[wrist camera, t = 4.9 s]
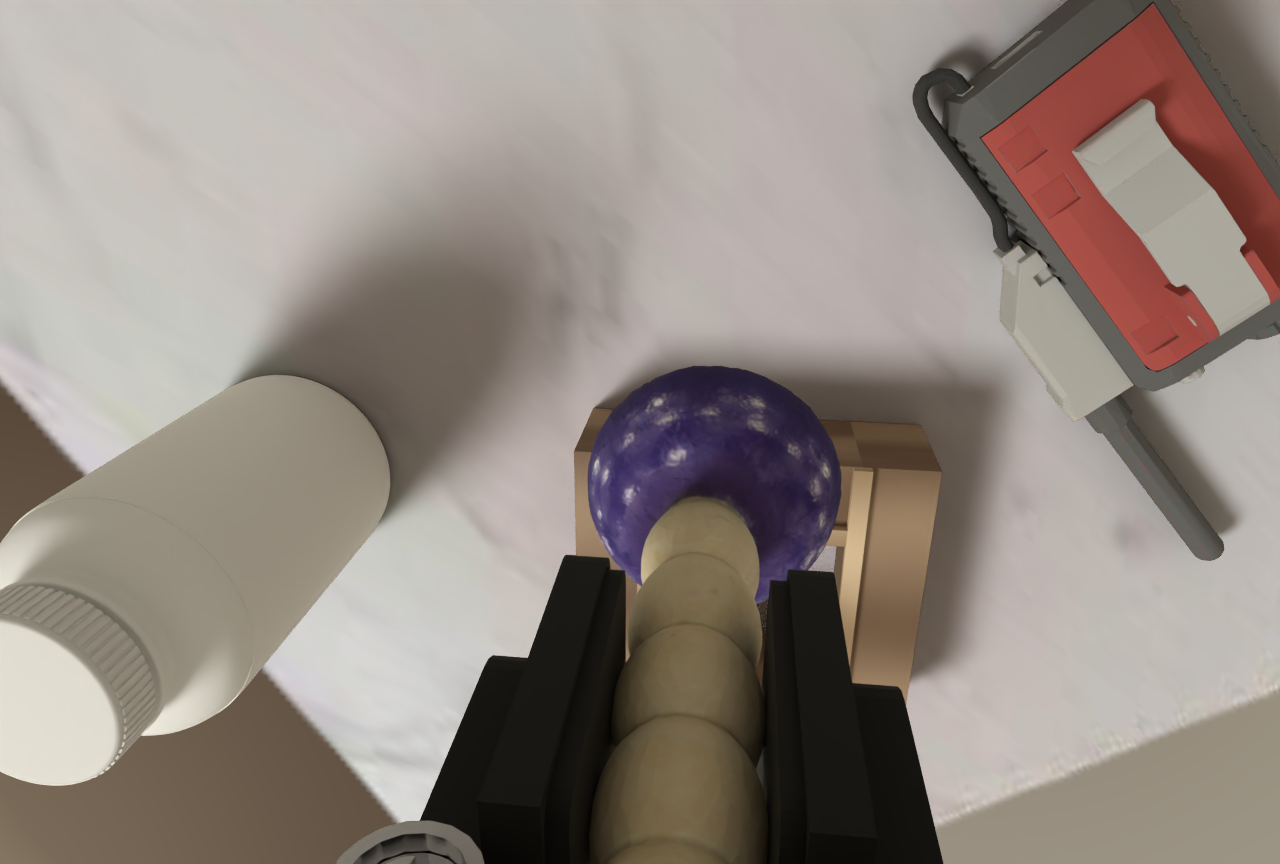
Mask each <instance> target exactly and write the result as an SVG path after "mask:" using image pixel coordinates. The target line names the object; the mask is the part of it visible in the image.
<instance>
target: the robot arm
mask: <svg viewBox="0 0 1280 864" xmlns="http://www.w3.org/2000/svg"><path fill="white" fill-rule="evenodd" d="M625 663H626V573H625V570H612V569H611V568H610V560H609V558H606V557H591V556H576V555H565V556H564V558H563V560H562V563H561V566H560V569H559V572H558V574H557V577H556V580H555V583H554V586H553V589H552V591H551V594H550V597H549V600H548V603H547V605H546V608H545V611H544V614H543V617H542V620H541V622H540V625H539V628H538V631H537V634H536V637H535V639H534V642H533V645H532V648H531V651H530V653H529V656H528V658H520V657H507V656H494V655H493V656H492V657H490V658H489V659H488V661H487V663H486V665H485V666H484V669H483V671H482V673H481V676H480V678H479V681H478V683H477V685H476V688H475V690H474V693H473V695H472V697H471V700H470V702H469V704H468V707H467V709H466V712H465V714H464V716H463V719H462V721H461V724H460V726H459V728H458V731H457V733H456V736H455V738H454V740H453V743H452V745H451V747H450V750H449V752H448V755H447V757H446V759H445V762H444V764H443V767H442V769H441V771H440V774H439V776H438V779H437V781H436V783H435V786H434V788H433V790H432V793H431V795H430V798H429V800H428V802H427V805H426V807H425V810H424V812H423V814H422V817H421V819H420V821H406V822H402V823H399V824H395V825H391V826H387V827H383V828H381V829H380V830H378V831H376V832H374V833H372V834H370V835H368V836H366V837H364V838H362V839H360V840H359V841H358V842H357V843H356V844H354V845H353V846H352V847H351V848H350V849H348V850H347V851H346V852H345V853H344V854H343V855H341V857H340V858H339V859H338V861H337V862H336V863H335V864H591V861H590V848H589V830H590V821H591V812H592V804H593V799H594V795H595V791H596V788H597V784H598V781H599V779H600V776H601V774H602V771H603V769H604V767H605V765H606V763H607V762H608V760H609V758H610V757H611V755H612V753H613V752H614V748H613V742H612V736H611V716H612V708H613V700H614V693H615V688H616V684H617V681H618V678H619V675H620V673H621V671H622V669H623V667H624V665H625ZM761 689H762V694H763V698H764V704H765V741H764V746H763V751H762V754H761V757H760V760H759V762H758V765H757V768H756V771H757V774H758V777H759V779H760V782H761V785H762V787H763V791H764V795H765V800H766V806H767V812H768V855H767V863H766V864H943V860H942V856H941V852H940V847H939V844H938V839H937V835H936V831H935V826H934V822H933V818H932V814H931V809H930V805H929V801H928V797H927V793H926V788H925V784H924V780H923V776H922V772H921V767H920V763H919V759H918V755H917V750H916V746H915V742H914V738H913V734H912V729H911V725H910V721H909V717H908V713H907V708H906V704H905V700H904V697H903V694H902V691H901V689H900V688H899V687H898V686H886V685H873V684H860V683H852V678H851V672H850V666H849V660H848V653H847V647H846V641H845V635H844V629H843V623H842V617H841V610H840V604H839V598H838V592H837V586H836V580H835V575H834V573H833V572H822V571H806V570H791V569H789V570H788V573H787V580H786V581H778V580H770V586H769V598H768V611H767V624H766V636H765V649H764V662H763V675H762V688H761Z"/></svg>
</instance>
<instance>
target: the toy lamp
mask: <svg viewBox="0 0 1280 864" xmlns="http://www.w3.org/2000/svg"><path fill="white" fill-rule="evenodd" d="M587 481H588V502H589V507H590V513H591V516H592V519H593V522H594V525H595V528H596V531H597V533H598V535H599V537H600V539H601V541H602V543H603V545H604V547H605V549H606V550H607V552H608V553H609V555H610V556H611V558H612V559H613V561H614V562H615V563H616V564H618V566H619V567H620V568H621V569H622V570H625V573H626V574H627V575H628V576H629V577H630V578H631V579H632V580H633V581H635V582H636V583H637V584H639V585H640V586H641V588H640V590H639V591H638V593H637V595H636V597H635V600H634V602H633V606H632V610H631V614H630V618H629V624H628V649H629V654H630V657H629V658H628V660H627V662H626V663H625V665H624V667H623V669H622V671H621V673H620V675H619V678H618V681H617V684H616V688H615V693H614V700H613V708H612V716H611V736H612V742H613V748H614V752H613V753H612V755H611V757H610V758H609V760H608V762H607V763H606V765H605V767H604V769H603V771H602V774H601V776H600V779H599V781H598V784H597V788H596V791H595V795H594V799H593V804H592V812H591V821H590V830H589V848H590V861H591V864H766V863H767V855H768V812H767V806H766V800H765V795H764V791H763V787H762V785H761V782H760V779H759V777H758V774H757V771H756V768H757V765H758V762H759V760H760V757H761V754H762V751H763V746H764V741H765V704H764V698H763V694H762V689H761V685H760V682H759V679H758V676H757V674H756V672H755V671H756V668H757V665H758V662H759V659H760V653H761V647H762V628H761V620H760V613H759V610H758V607H757V605H756V604H757V603H762V602H763V601H765V600H767V599H768V598H769V586H770V580H778V581H786V580H787V573H788V570H789V569H791V570H806V571H807V570H808V569H809V568H810V567H811V566H812V565H813V563H814V562H815V561H816V559H817V558H818V557H819V555H820V554H821V552H822V551H823V549H824V547H825V545H826V543H827V541H828V540H829V538H830V535H831V532H832V530H833V527H834V525H835V521H836V517H837V514H838V509H839V505H840V500H841V493H842V492H841V469H840V462H839V460H838V457H837V453H836V450H835V447H834V444H833V442H832V440H831V438H830V437H829V435H828V433H827V431H826V429H825V428H824V426H823V425H822V424H821V422H820V421H819V420H818V418H817V417H816V415H815V414H814V412H813V411H812V410H811V408H810V407H809V406H808V405H806V404H805V403H804V402H803V401H802V400H801V399H800V398H798V397H797V396H795V395H794V394H793V393H792V392H791V391H789V390H788V389H786V388H785V387H783V386H781V385H779V384H777V383H775V382H773V381H771V380H770V379H768V378H766V377H764V376H761V375H758V374H755V373H753V372H750V371H747V370H741V369H738V368H728V367H723V366H709V367H708V366H692V367H688V368H684V369H679V370H676V371H673V372H670V373H668V374H665V375H663V376H660V377H657V378H655V379H654V380H652V381H651V382H649V383H646V384H644V385H643V386H642V387H640V388H638V389H637V390H635V391H633V392H632V393H631V394H630V395H629V396H628V397H627V399H626V400H624V401H623V402H622V403H621V404H620V405H618V406H617V407H616V408H615V409H614V410H613V411H612V412H611V414H610V415H609V417H608V418H607V420H606V421H605V423H604V424H603V426H602V428H601V429H600V431H599V432H598V434H597V436H596V439H595V442H594V446H593V449H592V453H591V457H590V461H589V465H588V479H587Z"/></svg>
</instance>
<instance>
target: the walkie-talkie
mask: <svg viewBox="0 0 1280 864" xmlns="http://www.w3.org/2000/svg"><path fill="white" fill-rule="evenodd" d="M1179 12H1180V9H1179V7H1178V6H1173V4H1172V3H1171V1H1170V0H1068V1H1067V2H1066V3H1064V4H1063V5H1062V6H1061V7H1059V8H1058V9H1057V10H1056V11H1055V12H1053V13H1052V14H1051V15H1050V16H1048V17H1047V18H1046V19H1045V20H1043V21H1042V22H1041V23H1040V24H1039V25H1037V26H1036V27H1035V28H1034V29H1032V30H1031V31H1030V32H1029V33H1028V34H1026V35H1025V36H1024V37H1023V38H1021V39H1020V40H1019V41H1018V42H1016V43H1015V44H1014V45H1013V46H1012V47H1010V48H1009V49H1008V50H1007V51H1005V52H1004V53H1003V54H1002V55H1000V56H999V57H998V58H997V59H996V60H994V61H993V62H992V63H991V64H989V65H988V66H987V67H986V68H985V69H983V70H982V71H981V72H980V73H978V74H977V75H976V76H975V77H973V78H972V79H971V80H970V81H969V82H967V80H966V79H965V78H964V77H963V76H962V75H961V74H959V73H957V72H956V71H954V70H952V69H944V68H938V69H936V70H934V71H932V72H930V73H928V74H926V75H924V76H922V77H921V78H920V79H919V81H918V82H917V83H916V85H915V88H914V91H913V105H914V107H915V110H916V113H917V116H918V118H919V120H920V121H921V123H922V124H923V125H924V127H925V128H926V129H927V131H928V132H929V133H930V135H931V136H932V137H933V139H934V140H935V141H936V143H937V144H938V146H939V147H940V148H941V150H942V151H943V152H944V154H945V155H946V156H947V158H948V159H949V160H950V162H951V163H952V164H953V166H954V167H955V169H956V170H957V171H958V173H959V174H960V175H961V177H962V178H963V179H964V181H965V182H966V183H967V185H968V186H969V187H970V189H971V190H972V192H973V193H974V194H975V196H976V197H977V199H978V200H979V202H980V203H981V205H982V206H983V208H984V209H985V211H986V212H987V213H988V215H989V216H990V218H991V221H992V225H993V237H994V239H995V242H996V244H997V246H998V248H997V249H995V250H994V251H993V252H994V253H995V255H996V256H997V258H998V259H999V260H1000V262H1001V263H1002V264H1003V278H1002V291H1001V304H1000V321H1001V322H1002V324H1003V325H1004V326H1005V328H1006V329H1007V330H1008V332H1009V333H1010V334H1011V336H1012V337H1013V338H1014V340H1015V341H1016V342H1017V344H1018V345H1019V347H1020V348H1021V349H1022V351H1023V352H1024V353H1025V355H1026V356H1027V357H1028V359H1029V360H1030V361H1031V363H1032V364H1033V365H1034V367H1035V368H1036V369H1037V371H1038V372H1039V373H1040V375H1041V376H1042V377H1043V379H1044V380H1045V381H1046V383H1047V392H1048V393H1049V394H1050V395H1051V397H1052V398H1053V399H1054V400H1055V401H1056V403H1057V404H1058V405H1059V406H1060V408H1061V409H1062V410H1063V411H1064V412H1065V413H1066V415H1067V416H1068V417H1069V418H1070V419H1071V420H1072V421H1078V420H1080V419H1081V418H1083V417H1085V418H1086V419H1087V421H1088V422H1089V423H1090V425H1091V426H1092V427H1093V428H1094V430H1095V431H1096V432H1098V433H1103V434H1104V436H1105V437H1106V438H1107V440H1108V441H1109V442H1110V444H1111V445H1112V446H1113V448H1114V449H1115V450H1116V452H1117V453H1118V454H1119V456H1120V457H1121V458H1122V460H1123V461H1124V462H1125V464H1126V465H1127V466H1128V468H1129V469H1130V470H1131V472H1132V473H1133V474H1134V476H1135V477H1136V478H1137V480H1138V481H1139V482H1140V484H1141V485H1142V486H1143V488H1144V489H1145V490H1146V492H1147V493H1148V494H1149V496H1150V497H1151V498H1152V500H1153V501H1154V502H1155V504H1156V505H1157V506H1158V508H1159V509H1160V510H1161V512H1162V513H1163V514H1164V516H1165V517H1166V518H1167V520H1168V521H1169V522H1170V524H1171V525H1172V526H1173V527H1174V529H1175V530H1176V531H1177V533H1178V534H1179V535H1180V537H1181V538H1182V539H1183V541H1184V542H1185V543H1186V545H1187V546H1188V547H1189V549H1190V550H1191V551H1192V553H1193V554H1194V555H1195V556H1196V557H1197V558H1199V559H1201V560H1207V561H1211V560H1215V559H1217V558H1219V557H1220V556H1221V555H1222V553H1223V551H1224V544H1223V541H1222V540H1221V539H1220V537H1219V536H1218V534H1217V533H1216V532H1215V530H1214V529H1213V528H1212V526H1211V525H1210V524H1209V522H1208V521H1207V520H1206V518H1205V517H1204V516H1203V514H1202V513H1201V512H1200V510H1199V509H1198V508H1197V506H1196V505H1195V504H1194V502H1193V501H1192V500H1191V498H1190V497H1189V496H1188V494H1187V493H1186V492H1185V490H1184V489H1183V488H1182V486H1181V485H1180V483H1179V482H1178V481H1177V479H1176V478H1175V477H1174V475H1173V474H1172V473H1171V471H1170V470H1169V469H1168V467H1167V466H1166V465H1165V463H1164V462H1163V461H1162V459H1161V458H1160V457H1159V455H1158V454H1157V453H1156V451H1155V450H1154V449H1153V447H1152V446H1151V445H1150V443H1149V442H1148V441H1147V439H1146V438H1145V437H1144V435H1143V434H1142V432H1141V431H1140V430H1139V428H1138V427H1137V426H1136V424H1135V423H1134V422H1133V420H1132V419H1131V415H1132V410H1131V409H1130V407H1129V406H1128V405H1127V403H1126V402H1125V401H1124V399H1123V398H1122V397H1121V395H1120V394H1121V393H1122V392H1124V391H1125V390H1127V389H1129V388H1130V387H1132V386H1133V385H1134V384H1135V385H1136V386H1137V387H1138V388H1142V389H1146V390H1150V391H1157V390H1160V389H1162V388H1165V387H1167V386H1170V385H1172V384H1175V383H1177V382H1179V381H1180V382H1181V383H1188V382H1191V381H1194V380H1196V379H1197V378H1199V377H1200V376H1201V375H1202V374H1203V373H1204V371H1205V370H1204V367H1203V366H1205V365H1206V364H1208V363H1210V362H1211V361H1213V360H1214V359H1216V358H1218V357H1219V356H1221V355H1222V354H1224V353H1226V352H1227V351H1229V350H1230V349H1232V348H1233V347H1235V346H1237V345H1238V344H1240V343H1241V342H1243V341H1245V340H1246V339H1256V340H1258V339H1265V338H1269V337H1272V336H1275V335H1277V334H1280V166H1279V165H1278V163H1277V162H1276V160H1275V158H1274V157H1273V155H1272V154H1271V152H1270V151H1269V149H1268V147H1267V146H1266V145H1262V144H1261V143H1260V141H1259V140H1258V137H1259V134H1258V132H1257V131H1255V130H1252V129H1251V127H1250V126H1249V124H1248V122H1249V120H1250V119H1249V118H1248V116H1246V115H1242V113H1241V111H1240V110H1239V106H1240V103H1239V102H1238V100H1233V99H1232V97H1231V96H1230V94H1229V91H1230V88H1229V86H1228V85H1223V83H1222V81H1221V80H1220V78H1219V76H1220V74H1221V73H1220V72H1219V70H1218V69H1213V67H1212V66H1211V64H1210V63H1209V60H1210V56H1209V55H1208V54H1204V53H1203V52H1202V50H1201V48H1200V47H1199V44H1200V43H1201V42H1200V40H1199V39H1198V38H1194V37H1193V36H1192V34H1191V33H1190V31H1189V28H1190V25H1189V23H1188V22H1183V20H1182V18H1181V17H1180V15H1179ZM940 82H946V83H947V84H949V85H950V86H951V87H953V89H954V90H955V91H956V92H955V93H954V94H953V95H951V96H950V97H949V98H948V99H946V100H945V106H944V112H943V119H942V125H941V124H940V123H939V121H938V120H937V119H936V117H935V116H934V115H933V113H932V111H931V109H930V107H929V104H928V99H927V96H928V91H929V89H930V88H931V87H932V86H934V85H936V84H938V83H940ZM1004 214H1005V215H1007V217H1008V218H1007V219H1006V217H1005V215H1004ZM1007 222H1008V223H1009V224H1010V225H1012V226H1013V227H1015V228H1016V229H1017V231H1016V232H1015V233H1016V234H1017V236H1018V237H1020V238H1021V239H1023V240H1024V241H1026V244H1025V243H1024V242H1022V241H1021V240H1019V241H1018V242H1016V243H1015V242H1014V241H1012V240H1011V239H1010V238H1009V236H1008V225H1007Z"/></svg>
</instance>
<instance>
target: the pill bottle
mask: <svg viewBox="0 0 1280 864" xmlns="http://www.w3.org/2000/svg"><path fill="white" fill-rule="evenodd" d="M389 492H390V470H389V464H388V459H387V456H386V453H385V450H384V447H383V445H382V442H381V440H380V438H379V436H378V434H377V433H376V431H375V429H374V428H373V426H372V425H371V424H370V422H369V421H368V420H367V418H366V417H365V416H364V415H363V414H362V413H361V412H360V411H359V410H358V409H357V408H356V407H355V406H354V405H353V404H352V403H351V402H350V401H348V400H347V399H346V398H344V397H343V396H342V395H340V394H339V393H337V392H335V391H334V390H332V389H330V388H328V387H326V386H324V385H322V384H320V383H317V382H314V381H311V380H308V379H305V378H301V377H295V376H288V375H268V376H261V377H256V378H252V379H249V380H246V381H243V382H241V383H239V384H236V385H234V386H231V387H229V388H227V389H226V390H224V391H222V392H221V393H219V394H217V395H216V396H214V397H213V398H211V399H209V400H208V401H206V402H204V403H203V404H201V405H200V406H198V407H196V408H195V409H193V410H192V411H190V412H188V413H187V414H185V415H183V416H182V417H180V418H179V419H177V420H175V421H174V422H172V423H170V424H169V425H167V426H166V427H164V428H162V429H161V430H159V431H158V432H156V433H154V434H153V435H151V436H149V437H148V438H146V439H145V440H143V441H141V442H140V443H138V444H136V445H135V446H133V447H132V448H130V449H128V450H127V451H125V452H124V453H122V454H120V455H119V456H117V457H115V458H114V459H112V460H111V461H109V462H107V463H106V464H104V465H103V466H101V467H99V468H98V469H96V470H94V471H93V472H91V473H90V474H88V475H86V476H85V477H83V478H81V479H80V480H78V481H77V482H75V483H74V484H72V485H70V486H69V487H67V488H65V489H64V490H62V491H61V492H59V493H57V494H56V495H54V496H52V497H51V498H49V499H48V500H46V501H45V502H43V503H41V504H40V505H38V506H37V507H35V508H34V509H32V510H31V511H30V512H28V513H27V514H26V515H24V516H23V517H22V518H21V519H20V520H19V521H18V522H17V523H16V524H15V525H14V526H13V527H12V529H11V530H10V531H9V533H8V534H7V535H6V537H5V538H4V539H3V540H2V542H1V543H0V771H1V772H2V773H5V774H7V775H9V776H12V777H14V778H17V779H20V780H24V781H27V782H31V783H36V784H42V785H55V786H57V785H58V786H59V785H70V784H76V783H80V782H83V781H87V780H90V779H91V778H95V777H97V776H99V774H102V773H104V772H105V771H106V770H108V769H109V768H110V767H111V766H112V765H113V764H114V763H115V762H116V761H117V760H118V759H119V758H120V757H121V756H122V755H123V754H124V753H125V752H126V751H127V749H129V747H130V746H131V745H132V744H133V743H134V742H135V741H136V740H137V739H138V738H139V736H141V735H143V736H147V735H161V734H168V733H173V732H177V731H181V730H184V729H187V728H190V727H192V726H195V725H197V724H199V723H201V722H203V721H205V720H207V719H208V718H210V717H212V716H213V715H215V714H216V713H218V712H220V711H221V710H223V709H224V708H226V707H227V706H228V705H229V704H230V703H231V702H232V701H233V700H235V698H236V697H237V696H238V695H239V694H240V693H241V692H242V691H243V690H244V689H245V687H246V686H247V685H248V684H249V683H250V681H251V680H252V679H253V678H254V677H255V675H256V674H257V673H258V672H259V671H260V669H261V668H262V667H263V666H264V664H265V663H266V662H267V661H268V660H269V658H270V657H271V656H272V655H273V653H274V652H275V651H276V650H277V649H278V647H279V646H280V645H281V644H282V643H283V641H284V640H285V639H286V638H287V636H288V635H289V634H290V633H291V632H292V630H293V629H294V628H295V627H296V625H297V624H298V623H299V622H300V621H301V619H302V618H303V617H304V616H305V615H306V613H307V612H308V611H309V610H310V608H311V607H312V606H313V605H314V604H315V602H316V601H317V600H318V599H319V597H320V596H321V595H322V594H323V593H324V591H325V590H326V589H327V588H328V587H329V585H330V584H331V583H332V582H333V580H334V579H335V578H336V577H337V576H338V574H339V573H340V572H341V571H342V569H343V568H344V567H345V566H346V565H347V563H348V562H349V561H350V560H351V559H352V557H353V556H354V555H355V554H356V552H357V551H358V550H359V549H360V548H361V546H362V545H363V544H364V543H365V541H366V540H367V539H368V538H369V537H370V535H371V534H372V533H373V531H374V530H375V528H376V526H377V524H378V523H379V521H380V519H381V517H382V515H383V513H384V511H385V508H386V506H387V502H388V498H389Z"/></svg>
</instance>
